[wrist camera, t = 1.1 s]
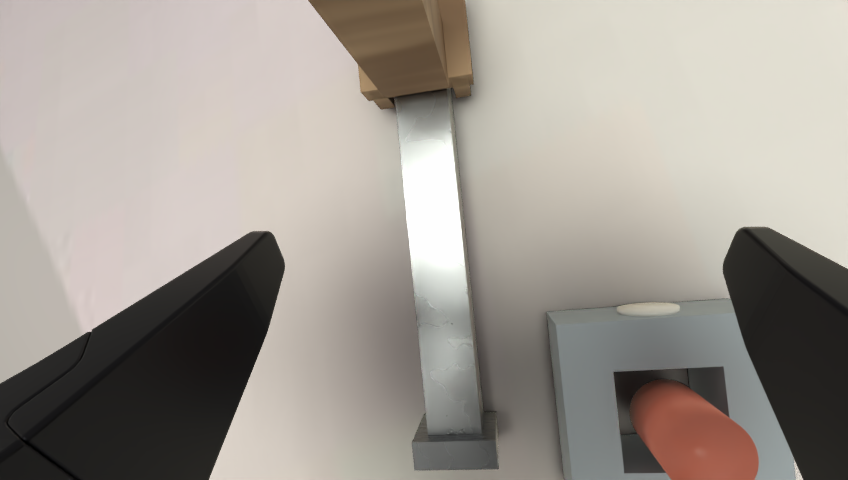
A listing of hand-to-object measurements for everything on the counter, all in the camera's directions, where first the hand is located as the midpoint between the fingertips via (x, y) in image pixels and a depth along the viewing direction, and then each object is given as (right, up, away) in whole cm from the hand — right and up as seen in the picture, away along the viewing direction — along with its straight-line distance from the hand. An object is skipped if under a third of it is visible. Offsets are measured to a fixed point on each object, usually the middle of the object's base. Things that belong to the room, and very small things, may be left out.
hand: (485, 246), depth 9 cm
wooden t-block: (-1, +9, +12) cm, 15 cm away
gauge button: (+9, -7, +9) cm, 14 cm away
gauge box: (+9, -7, +12) cm, 16 cm away
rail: (0, +2, +13) cm, 13 cm away
